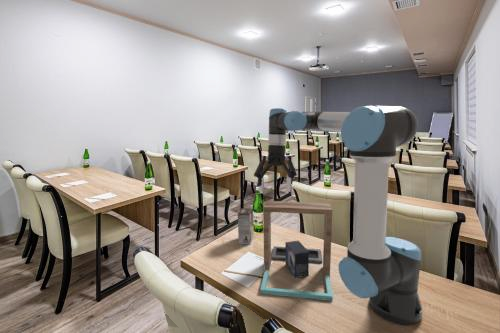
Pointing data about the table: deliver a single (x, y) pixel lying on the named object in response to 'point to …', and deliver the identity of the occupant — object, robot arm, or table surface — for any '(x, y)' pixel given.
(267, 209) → the tunnel
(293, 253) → the small box
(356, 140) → the robot arm
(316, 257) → the pit plate
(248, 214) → the coffee box
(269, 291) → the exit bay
